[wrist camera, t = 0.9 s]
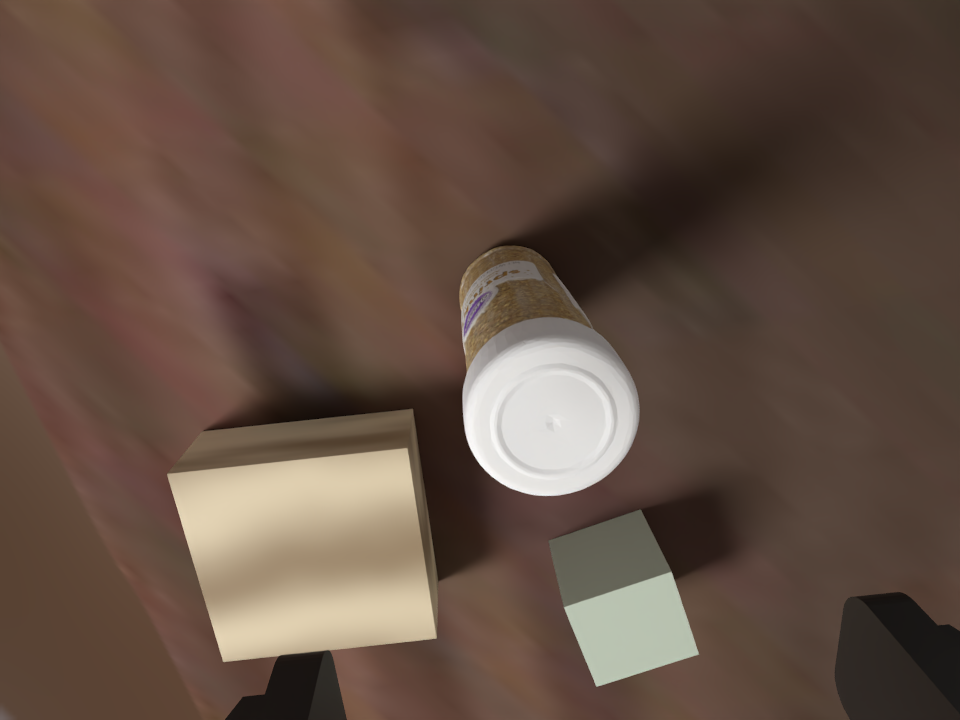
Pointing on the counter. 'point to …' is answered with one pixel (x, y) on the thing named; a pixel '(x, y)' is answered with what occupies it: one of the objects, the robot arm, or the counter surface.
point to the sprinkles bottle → (539, 379)
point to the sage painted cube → (621, 598)
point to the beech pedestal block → (310, 534)
